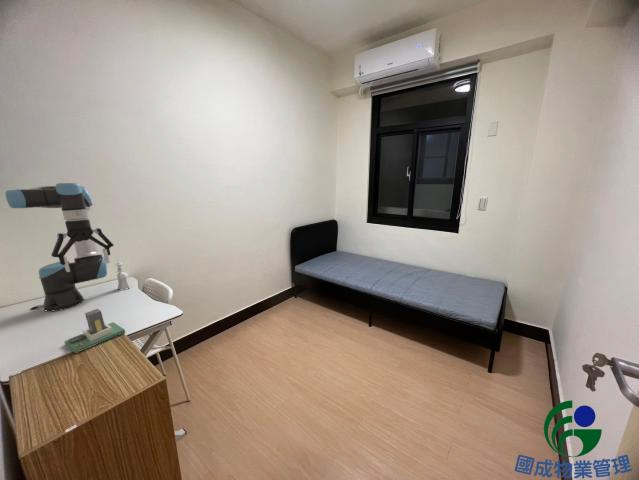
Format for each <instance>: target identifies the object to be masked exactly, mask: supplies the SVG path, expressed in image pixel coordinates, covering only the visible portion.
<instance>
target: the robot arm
mask: <svg viewBox="0 0 639 480" xmlns="http://www.w3.org/2000/svg"><path fill="white" fill-rule="evenodd" d="M4 193H5V198H6V199H5V200H6V202H7V205H8V206H9V207H10V208H12V209H31V208H41V209H59V208H60V209H61V212H62V216H63V219H64V220H65V222H64V223H65V227H66V230H67V232H66V233H61V232H58V233H57V240H56V242H55V245H54V246H53V250H52V252H51V257H53V258H58V260H59V261H57V262H53V263H49V264H47V265H45V266H42V267H41V268H39V270H38V276H39V277H38V278H39V280H40V283H41V286H42V289H43V293H44V301H43V310H44V311H45V310H47V311H46V312H48V311H51V312H53V311H52V310H58V311H61V310H60V309H63V310H66V309H65V308H67V309H70V308H72V306H73V307H75V306H78V305H79V303H80V304H82V303H83V302H84V296H83V294H82V293H81V292H80V291H79V290H78V288H77V287H76V284H79V283H84V282H86V283H87V282H89V281H94V280H99V279H103V278H105V277H106V276H107V275H108V266H107V264H110V258H109V256H110V255H111V251H110V250H111V249H110V248H112V247H114V243H113V242H112V241H111V240H110V239H108V237H107V236H106V235H105V234H104V233H103V232H102V228H98V227H96V228H94V229H92V225H91V221H90V217H89V213H88V212H89V211H90V210H91V207H92V206H93V202H92V198H91V195H90V194H89V192H88V190H87V188H86V187H85V186H84V185H81V184H80V183H79V182H78V183H77V182H64V183H63V182H60V183H59V182H58V183H56V184H55V185H53V186H50V185H48V186H46V185H45V186H40V187H33V188H29V189H28V188H25V189H20V188H19V189H18V188H17V189H8V190H5V192H4ZM94 234H97V235H98V237H99V238H101V239H102V240H103V242H102V241H100V240H99V239H97V238H95V236H94ZM67 237H68V238H69V240H67V241H68V242H66V244H65V245H64V246H63V248H62V249H61V247H62V245H63V242H64V239H66V238H67ZM105 243H106V244H105ZM96 244H97V245H99V246H101V247H102V253H103V254H102V253H99V252H98V249H97V245H96ZM73 245H74V249H75V253H76V256H75V258H74V260H73V261H74V262H70V261H68V258H67V256H65V255H66V254H67V253H68V251H70V249H71V247H73ZM82 301H83V302H82ZM77 304H78V305H77ZM69 307H70V308H69Z"/></svg>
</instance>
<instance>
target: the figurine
mask: <svg viewBox="0 0 639 480" xmlns="http://www.w3.org/2000/svg"><path fill="white" fill-rule="evenodd" d="M123 264H124V262H121V261H120V260H117V262H116V263H114V265H113V266H114V267H117V270H115V271H113V274H114V273H117V275H116V276H117V277H116V279H117V282H118V284H117V285H118V286H117V289H126V288H130V287H131V286H132V287H134V284H133V283H132V281H130V278H129V273H127V272H124V271H123ZM132 287H131V288H132ZM131 288H130V289H131ZM126 290H127V289H126Z"/></svg>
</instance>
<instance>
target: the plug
mask: <svg viewBox="0 0 639 480" xmlns="http://www.w3.org/2000/svg"><path fill="white" fill-rule="evenodd" d="M84 315H85V318H86V322H87V326H88V329H89V330H90V334H91V335H92V334H95V333H97V332H100V331H102V330H105V325H104V323H105V322H104V318H103V313H102V310H100V309H99V308H96V309H93V310H90V311H87V312H84Z"/></svg>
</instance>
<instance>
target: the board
mask: <svg viewBox="0 0 639 480" xmlns="http://www.w3.org/2000/svg"><path fill="white" fill-rule="evenodd" d="M104 325H105V330H102V331H100V332H97V333H95V334H92V335H91V334H90V330H89V328H86V329H84V330H82V333H81V334H78V335H76V336H73V337H71V338H68V339H67V340H65V341H64V344H65V346H66V347H67V348H68V349H69V350H71V352H72V353H73V352H78V351H79V350H82V349H85V348H87V347H89V346H92V345H94V344H97V343H100V342H102V341H104V340H107V339H109V340H111V339H110V338H112V337H114V336H116V337H118V336H117V335H119V336H120V334H121V335H123V334H125V333H126V330H125V328H123V327H121V326H120V325H118V324H117V323H115V322H110V323H106V322H104ZM114 338H115V337H114ZM112 339H113V338H112ZM107 341H108V340H107ZM102 343H103V342H102ZM100 344H101V343H100Z"/></svg>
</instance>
